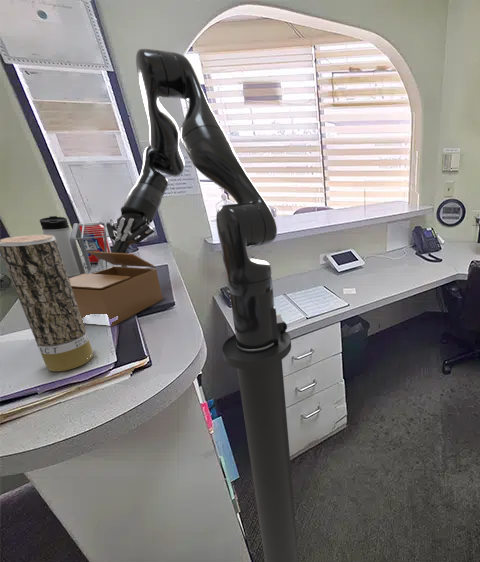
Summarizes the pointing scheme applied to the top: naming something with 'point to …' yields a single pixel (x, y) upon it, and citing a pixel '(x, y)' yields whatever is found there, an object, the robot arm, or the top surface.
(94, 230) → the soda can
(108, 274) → the carton
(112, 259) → the flap
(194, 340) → the top surface
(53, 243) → the paper tube
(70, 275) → the travel mug
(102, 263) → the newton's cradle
